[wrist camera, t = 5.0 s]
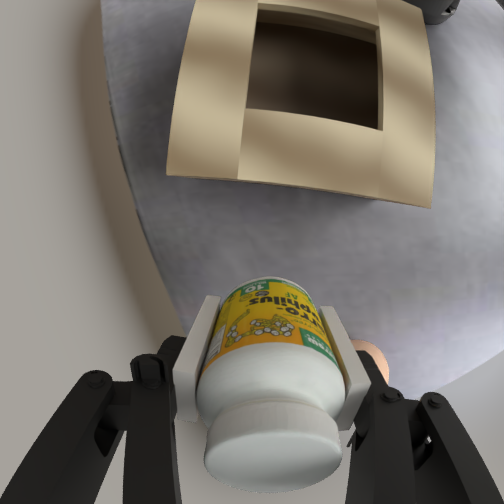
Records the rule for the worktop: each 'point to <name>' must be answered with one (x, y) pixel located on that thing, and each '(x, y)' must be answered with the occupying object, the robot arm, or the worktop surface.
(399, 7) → the drop box
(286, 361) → the supplement bottle
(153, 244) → the worktop surface
